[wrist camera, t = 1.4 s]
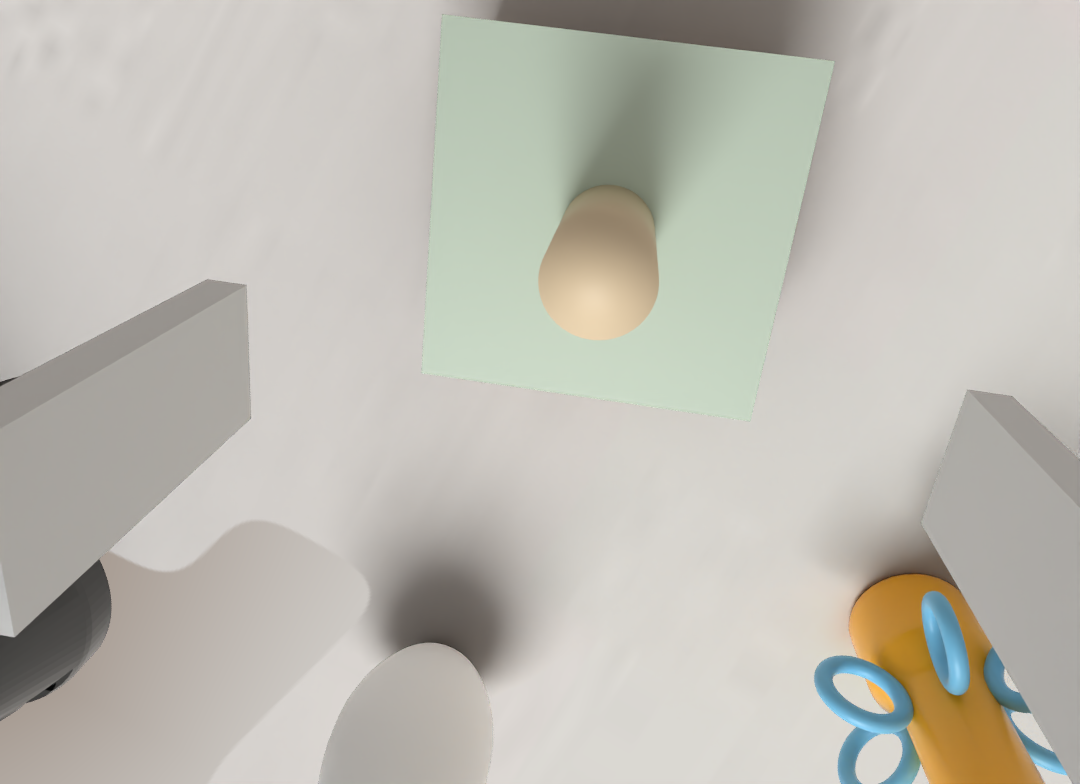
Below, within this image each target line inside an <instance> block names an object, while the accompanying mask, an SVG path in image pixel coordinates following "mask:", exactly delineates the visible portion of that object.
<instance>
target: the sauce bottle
mask: <svg viewBox="0 0 1080 784" xmlns="http://www.w3.org/2000/svg"><path fill="white" fill-rule="evenodd" d="M492 750H493V721H492V712H491V706H490V702H489V698H488V695H487V692H486V689H485V686H484V684H483V682H482V679H481V678H480V676H479V674H478V672H477V670H476V669H475V667H474V666H473V664H472V663H471V662H470V661H469V660H468V659H467V658H466V657H465V656H464V655H463V654H462V653H460V652H458V651H457V650H455V649H454V648H451V647H449V646H447V645H443V644H438V643H421V644H415V645H412V646H409V647H406V648H404V649H402V650H400V651H398V652H396V653H394V654H393V655H391V656H389V657H388V658H387V659H385V660H384V661H383V662H381V663H380V664H379V665H377V666H376V667H375V668H374V669H373V670H371V671H370V672H369V673H368V674H367V675H366V677H365V678H364V679H363V680H362V681H361V683H360V684H359V685H358V686H357V687H356V689H355V690H354V691H353V693H352V694H351V695H350V697H349V698H348V700H347V702H346V703H345V705H344V707H343V709H342V711H341V713H340V715H339V717H338V719H337V722H336V724H335V726H334V729H333V731H332V733H331V736H330V739H329V741H328V744H327V747H326V751H325V754H324V757H323V761H322V766H321V770H320V776H319V781H318V784H486V782H487V778H488V773H489V768H490V763H491V757H492Z"/></svg>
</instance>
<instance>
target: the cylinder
mask: <svg viewBox="0 0 1080 784" xmlns="http://www.w3.org/2000/svg"><path fill="white" fill-rule="evenodd" d="M849 633H850V637H851V640H852V643H853V646H854V649H855V651H856V654H857V657H858V658H856V657H852V656H833V657H829V658H827V659H825V660H823V661H822V662H821V663H820V664H819V665H818V666H817V668H816V671H815V675H814V682H815V686H816V689H817V692H818V694H819V696H820V697H821V699H822V700H823V701H824V703H825V704H826V705H827V706H828V707H829V708H830V709H831V710H832V711H833V712H834V713H835V714H836V715H838V716H839V717H840V718H842V719H843V720H845V721H846V722H848V723H850V724H852V725H854V726H856V728H855V729H854V730H853V731H852V732H851V733H850V734H849V736H848V737H847V738H846V740H845V742H844V744H843V746H842V748H841V751H840V754H839V758H838V775H839V779H840V782H841V784H862V783H860V782H859V780H858V779H857V777H856V773H855V764H856V760H857V757H858V754H859V752H860V751H861V749H862V748H863V746H864V745H865V744H866V743H867V742H868V741H869V740H870V739H872V738H873V737H875V736H877V735H879V734H891V733H893V734H895V735H897V736H898V737H899V738H900V740H901V742H902V747H903V752H902V758H901V761H900V763H899V765H898V767H897V769H896V770H895V772H894V773H893V774H892V775H891V776H890V777H889V778H888V779H886V780H885V781H883V782H882V783H880V784H912V782H913V781H914V779H915V777H916V775H917V773H918V770H919V767H920V764H922V767H923V769H924V772H925V774H926V777H927V779H928V782H929V784H1045V782H1044V780H1043V779H1042V777H1041V775H1040V773H1039V771H1038V770H1037V768H1036V766H1035V764H1037V765H1038V766H1040V767H1043V768H1045V769H1047V770H1050V771H1052V772H1055V773H1059V774H1063V775H1067V773H1066V772H1065V770H1064V768H1063V766H1062V765H1061V763H1060V761H1059V759H1058V758H1057V756H1056V754H1055V753H1054V752H1052V751H1050V750H1047V749H1045V748H1043V747H1042V746H1040V745H1038V744H1037V743H1035V742H1034V741H1032V740H1031V739H1029V738H1028V737H1027V736H1026V735H1024V734H1023V733H1022V732H1021V731H1020V730H1019V729H1018V727H1017V726H1016V725H1015V724H1014V722H1013V720H1012V718H1011V713H1012V712H1015V711H1017V712H1022V713H1031V711H1030V710H1029V708H1028V706H1027V705H1026V703H1025V701H1024V699H1023V698H1022V696H1021V694H1020V693H1019V692H1015V691H1013V690H1011V689H1010V688H1008V686H1007V685H1006V683H1005V681H1004V668H1005V667H1004V665H1003V663H1002V662H1001V660H1000V658H999V656H998V655H997V653H996V651H995V650H994V648H993V646H992V644H991V643H990V641H989V639H988V638H987V636H986V634H985V632H984V631H983V629H982V627H981V626H980V624H979V622H978V620H977V619H976V617H975V615H974V614H973V612H972V610H971V608H970V607H969V605H968V603H967V602H966V600H965V598H964V596H963V595H962V593H961V592H960V591H959V590H958V589H957V588H955V587H954V586H953V585H951V584H950V583H948V582H946V581H944V580H942V579H940V578H937V577H933V576H930V575H923V574H903V575H898V576H893V577H890V578H888V579H885V580H882V581H880V582H878V583H877V584H875V585H873V586H871V587H870V588H869V589H868V590H867V591H865V592H864V593H863V594H862V595H861V596H860V598H859V599H858V600H857V601H856V603H855V605H854V607H853V609H852V611H851V616H850V620H849ZM840 673H849V674H854V675H858V676H861V677H863V678H865V679H866V682H867V685H868V687H869V690H870V692H871V694H872V696H873V697H874V699H875V700H876V702H877V703H878V704H879V705H880V706H881V707H882V708H883V709H884V710H885V711H886V712H888V713H889V714H876V713H872V712H868V711H866V710H863V709H861V708H859V707H857V706H855V705H853V704H852V703H850V702H849V701H848V700H846V699H845V698H844V697H843V696H842V695H841V694H840V693H839V692H838V691H837V689H836V688H835V686H834V684H833V680H832V679H833V676H835V675H836V674H840ZM1031 714H1032V713H1031ZM1034 763H1035V764H1034Z"/></svg>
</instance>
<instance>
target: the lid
mask: <svg viewBox="0 0 1080 784" xmlns="http://www.w3.org/2000/svg"><path fill="white" fill-rule="evenodd" d="M834 64H835V61H830V60H821V59H813V58H805V57H796V56H788V55H779V54H771V53H763V52H754V51H746V50H738V49H729V48H721V47H712V46H704V45H696V44H687V43H679V42H671V41H662V40H654V39H645V38H637V37H629V36H620V35H612V34H604V33H595V32H587V31H578V30H570V29H562V28H553V27H545V26H537V25H528V24H520V23H511V22H503V21H495V20H486V19H478V18H469V17H461V16H453V15H444V14H442V23H441V40H440V58H439V75H438V93H437V110H436V128H435V145H434V162H433V180H432V197H431V215H430V232H429V250H428V267H427V285H426V302H425V320H424V337H423V354H422V372H421V373H424V374H431V375H437V376H444V377H451V378H458V379H464V380H471V381H478V382H485V383H492V384H498V385H505V386H512V387H519V388H526V389H532V390H539V391H546V392H553V393H560V394H566V395H573V396H580V397H587V398H594V399H600V400H607V401H614V402H621V403H627V404H634V405H641V406H648V407H655V408H661V409H668V410H675V411H682V412H689V413H695V414H702V415H709V416H716V417H723V418H729V419H736V420H743V421H751V416H752V412H753V408H754V404H755V399H756V395H757V391H758V387H759V382H760V378H761V374H762V370H763V365H764V361H765V357H766V353H767V348H768V344H769V340H770V336H771V331H772V327H773V323H774V319H775V314H776V310H777V306H778V302H779V297H780V293H781V289H782V285H783V280H784V276H785V272H786V268H787V263H788V259H789V255H790V251H791V246H792V242H793V238H794V234H795V229H796V225H797V221H798V217H799V212H800V208H801V204H802V200H803V195H804V191H805V187H806V183H807V178H808V174H809V170H810V166H811V161H812V157H813V153H814V149H815V144H816V140H817V136H818V132H819V127H820V123H821V119H822V115H823V110H824V106H825V102H826V98H827V93H828V89H829V85H830V81H831V76H832V72H833V68H834Z"/></svg>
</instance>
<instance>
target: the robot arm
mask: <svg viewBox="0 0 1080 784" xmlns="http://www.w3.org/2000/svg"><path fill="white" fill-rule="evenodd" d="M250 419H251V403H250V373H249V342H248V312H247V285H243V284H236V283H229V282H222V281H215V280H208V279H207V280H205V281H203V282H201V283H199V284H197V285H195V286H193V287H191V288H189V289H187V290H186V291H184V292H182V293H180V294H178V295H176V296H174V297H172V298H170V299H168V300H166V301H164V302H162V303H160V304H159V305H157V306H155V307H153V308H151V309H149V310H147V311H145V312H143V313H141V314H139V315H137V316H135V317H133V318H131V319H130V320H128V321H126V322H124V323H122V324H120V325H118V326H116V327H114V328H112V329H110V330H108V331H106V332H104V333H103V334H101V335H99V336H97V337H95V338H93V339H91V340H89V341H87V342H85V343H83V344H81V345H79V346H77V347H75V348H74V349H72V350H70V351H68V352H66V353H64V354H62V355H60V356H58V357H56V358H54V359H52V360H50V361H48V362H46V363H45V364H43V365H41V366H39V367H37V368H35V369H33V370H31V371H29V372H27V373H25V374H23V375H21V376H19V377H16V378H12V379H9V380H5V381H2V382H0V721H1V720H3V719H4V718H6V717H7V716H9V715H10V714H12V713H14V712H15V711H16V710H18V709H19V708H21V707H22V706H23V705H24V704H25V703H28V702H32V701H34V700H37V699H40V698H42V697H44V696H46V695H48V694H50V693H51V692H53V691H55V690H57V689H58V688H60V687H61V686H62V685H64V684H65V683H66V682H67V681H69V680H70V679H71V678H72V677H73V676H74V675H75V674H76V673H77V672H78V671H79V669H80V668H81V667H82V666H83V665H84V664H85V663H86V662H87V661H88V660H89V659H90V657H91V656H92V655H93V654H94V653H95V652H96V651H97V649H98V648H99V647H100V645H101V644H102V642H103V640H104V638H105V636H106V634H107V631H108V627H109V623H110V618H111V595H110V589H109V585H108V581H107V577H106V575H105V572H104V569H103V567H102V564H101V562H100V560H99V559H100V558H101V557H102V556H103V555H104V554H105V553H106V552H107V551H108V550H109V549H110V548H112V547H113V546H114V545H115V544H116V543H117V542H118V541H119V540H120V539H121V538H122V537H123V536H125V535H126V534H127V533H128V532H129V531H130V530H131V529H132V528H133V527H134V526H135V525H136V524H137V523H139V522H140V521H141V520H142V519H143V518H144V517H145V516H146V515H147V514H148V513H149V512H150V511H151V510H153V509H154V508H155V507H156V506H157V505H158V504H159V503H160V502H161V501H162V500H163V499H164V498H166V497H167V496H168V495H169V494H170V493H171V492H172V491H173V490H174V489H175V488H176V487H177V486H178V485H180V484H181V483H182V482H183V481H184V480H185V479H186V478H187V477H188V476H189V475H190V474H191V473H193V472H194V471H195V470H196V469H197V468H198V467H199V466H200V465H201V464H202V463H203V462H204V461H205V460H207V459H208V458H209V457H210V456H211V455H212V454H213V453H214V452H215V451H216V450H217V449H218V448H219V447H221V446H222V445H223V444H224V443H225V442H226V441H227V440H228V439H229V438H230V437H231V436H232V435H234V434H235V433H236V432H237V431H238V430H239V429H240V428H241V427H242V426H243V425H244V424H245V423H246V422H248V421H249V420H250ZM921 524H922V526H923V528H924V529H925V531H926V533H927V535H928V536H929V538H930V540H931V541H932V543H933V545H934V547H935V548H936V550H937V552H938V553H939V555H940V557H941V559H942V560H943V562H944V564H945V565H946V567H947V569H948V571H949V572H950V574H951V576H952V577H953V579H954V581H955V583H956V584H957V586H958V588H959V589H960V591H961V593H962V595H963V596H964V598H965V600H966V602H967V603H968V605H969V607H970V608H971V610H972V612H973V614H974V615H975V617H976V619H977V620H978V622H979V624H980V626H981V627H982V629H983V631H984V632H985V634H986V636H987V638H988V639H989V641H990V643H991V644H992V646H993V648H994V650H995V651H996V653H997V655H998V656H999V658H1000V660H1001V662H1002V663H1003V665H1004V667H1005V668H1006V670H1007V672H1008V674H1009V675H1010V677H1011V679H1012V681H1013V682H1014V684H1015V686H1016V687H1017V689H1018V691H1019V693H1020V694H1021V696H1022V698H1023V699H1024V701H1025V703H1026V705H1027V706H1028V708H1029V710H1030V711H1031V713H1032V715H1033V717H1034V718H1035V720H1036V722H1037V723H1038V725H1039V727H1040V729H1041V730H1042V732H1043V734H1044V735H1045V737H1046V739H1047V741H1048V742H1049V744H1050V746H1051V747H1052V749H1053V751H1054V753H1055V754H1056V756H1057V758H1058V759H1059V761H1060V763H1061V765H1062V766H1063V768H1064V770H1065V772H1066V773H1067V775H1068V777H1069V778H1070V780H1071V782H1072V784H1080V460H1079V459H1078V458H1077V457H1076V456H1075V455H1074V454H1073V453H1072V452H1071V451H1070V450H1069V449H1068V448H1067V447H1065V446H1064V445H1063V444H1062V443H1061V442H1060V441H1059V440H1058V439H1057V438H1056V437H1055V436H1054V435H1053V434H1052V433H1051V432H1050V431H1048V430H1047V429H1046V428H1045V427H1044V426H1043V425H1042V424H1041V423H1040V422H1039V421H1038V420H1037V419H1036V418H1035V417H1034V416H1033V415H1031V414H1030V413H1029V412H1028V411H1027V410H1026V409H1025V408H1024V407H1023V406H1022V405H1021V404H1020V403H1019V402H1018V401H1017V400H1016V399H1015V398H1013V397H1012V396H1007V395H1000V394H993V393H987V392H980V391H973V390H967V392H966V395H965V398H964V401H963V403H962V406H961V409H960V412H959V415H958V418H957V421H956V424H955V426H954V429H953V432H952V435H951V438H950V441H949V444H948V446H947V449H946V452H945V455H944V458H943V461H942V464H941V467H940V469H939V472H938V475H937V478H936V481H935V484H934V487H933V490H932V492H931V495H930V498H929V501H928V504H927V507H926V510H925V513H924V515H923V518H922V521H921Z"/></svg>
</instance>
